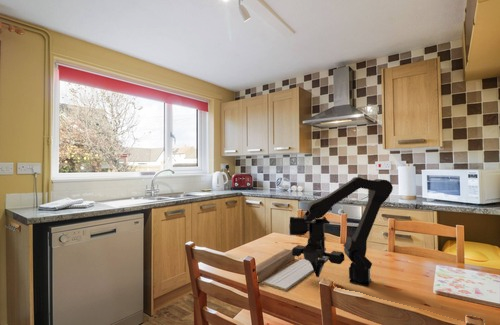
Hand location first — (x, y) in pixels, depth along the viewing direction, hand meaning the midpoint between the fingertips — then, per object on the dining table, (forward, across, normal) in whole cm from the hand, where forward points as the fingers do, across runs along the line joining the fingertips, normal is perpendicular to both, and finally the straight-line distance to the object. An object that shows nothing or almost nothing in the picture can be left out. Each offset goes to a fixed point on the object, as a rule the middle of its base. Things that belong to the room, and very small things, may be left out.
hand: (317, 276), depth 97 cm
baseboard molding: (+2, -11, +1) cm, 11 cm away
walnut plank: (+1, -20, +1) cm, 20 cm away
